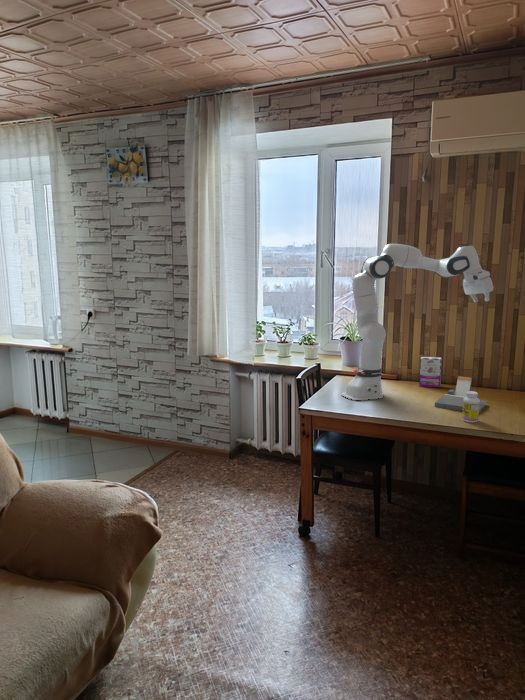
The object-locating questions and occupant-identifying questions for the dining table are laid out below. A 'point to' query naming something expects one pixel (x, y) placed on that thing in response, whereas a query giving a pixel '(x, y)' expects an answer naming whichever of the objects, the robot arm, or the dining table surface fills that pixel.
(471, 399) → the supplement bottle
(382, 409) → the dining table surface
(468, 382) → the breaker lever
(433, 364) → the candy bar box
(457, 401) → the breaker housing
